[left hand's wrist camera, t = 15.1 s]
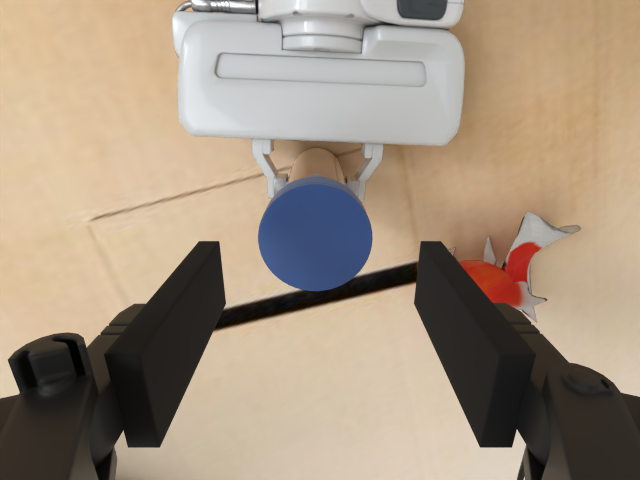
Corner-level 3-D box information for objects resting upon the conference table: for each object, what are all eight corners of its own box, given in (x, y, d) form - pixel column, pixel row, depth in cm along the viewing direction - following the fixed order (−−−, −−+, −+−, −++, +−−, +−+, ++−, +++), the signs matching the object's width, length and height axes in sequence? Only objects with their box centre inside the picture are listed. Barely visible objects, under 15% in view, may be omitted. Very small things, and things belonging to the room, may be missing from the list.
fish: (410, 214, 32) (503, 287, 25) (533, 169, 37) (637, 220, 30) (397, 297, 39) (467, 372, 32) (502, 249, 44) (582, 305, 37)
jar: (300, 202, 36) (285, 289, 20) (285, 155, 35) (255, 206, 18) (346, 189, 36) (371, 266, 19) (333, 141, 34) (348, 179, 17)
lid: (282, 284, 21) (279, 302, 19) (248, 193, 19) (241, 203, 17) (377, 259, 21) (383, 275, 19) (352, 163, 19) (356, 169, 17)
